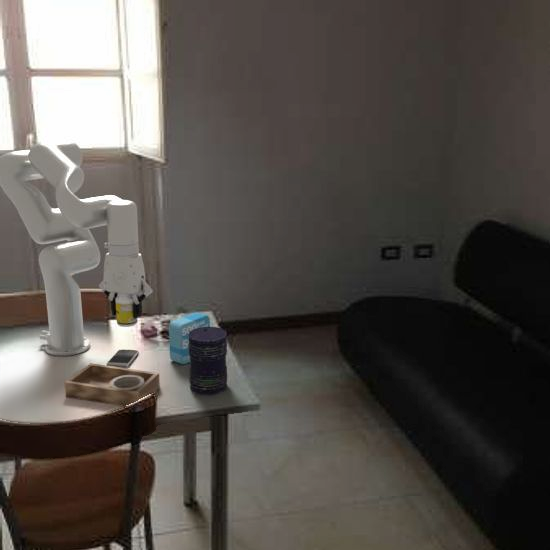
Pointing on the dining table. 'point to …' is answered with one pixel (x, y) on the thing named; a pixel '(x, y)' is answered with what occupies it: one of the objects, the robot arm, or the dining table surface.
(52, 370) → the dining table surface
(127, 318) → the supplement bottle
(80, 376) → the walnut box
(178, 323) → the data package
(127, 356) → the cell phone
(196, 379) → the storage jar
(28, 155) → the robot arm
